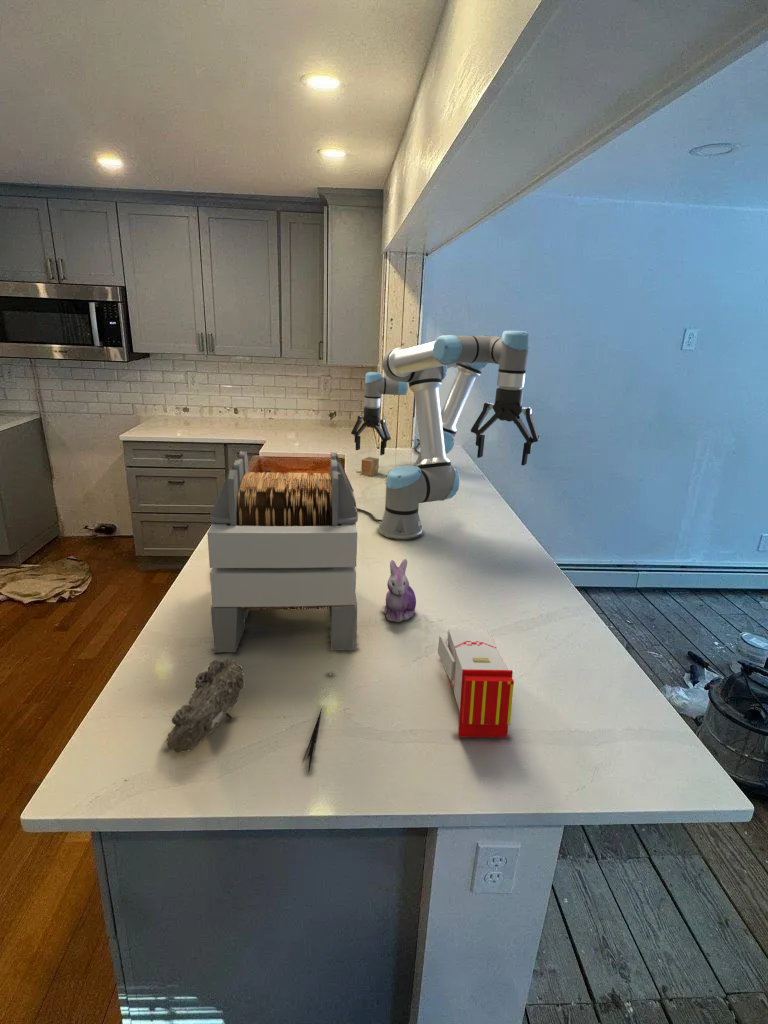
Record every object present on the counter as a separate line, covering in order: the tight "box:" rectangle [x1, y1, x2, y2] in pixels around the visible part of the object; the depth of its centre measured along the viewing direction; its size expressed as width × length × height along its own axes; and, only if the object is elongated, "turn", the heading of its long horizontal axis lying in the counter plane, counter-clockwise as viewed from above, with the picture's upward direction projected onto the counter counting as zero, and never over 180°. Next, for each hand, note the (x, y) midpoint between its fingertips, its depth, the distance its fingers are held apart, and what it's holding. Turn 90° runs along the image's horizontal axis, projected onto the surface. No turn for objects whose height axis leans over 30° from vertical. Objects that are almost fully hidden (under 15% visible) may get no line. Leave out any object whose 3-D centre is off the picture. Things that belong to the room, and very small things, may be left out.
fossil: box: [166, 658, 245, 754], centre depth 106 cm, size 22×10×15 cm
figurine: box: [384, 558, 417, 623], centre depth 145 cm, size 9×10×15 cm
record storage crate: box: [206, 450, 359, 654], centre depth 137 cm, size 34×33×41 cm
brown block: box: [360, 456, 380, 477], centre depth 269 cm, size 7×5×7 cm
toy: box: [437, 628, 515, 738], centre depth 117 cm, size 12×13×30 cm
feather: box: [301, 673, 332, 771], centre depth 108 cm, size 2×28×2 cm
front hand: (501, 460), depth 168 cm, fingers open, 13 cm apart
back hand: (369, 452), depth 267 cm, fingers open, 13 cm apart
